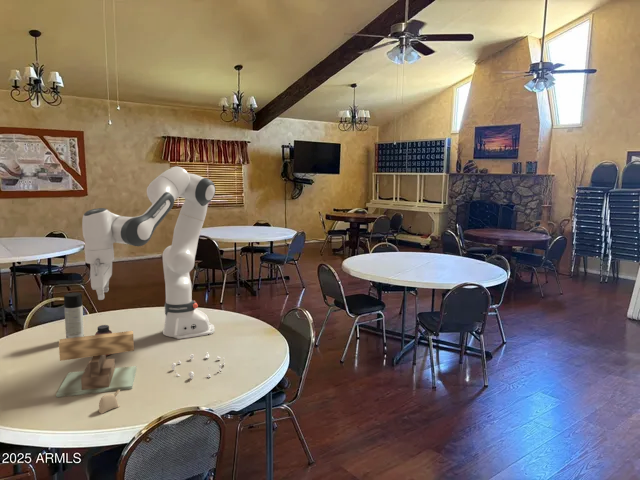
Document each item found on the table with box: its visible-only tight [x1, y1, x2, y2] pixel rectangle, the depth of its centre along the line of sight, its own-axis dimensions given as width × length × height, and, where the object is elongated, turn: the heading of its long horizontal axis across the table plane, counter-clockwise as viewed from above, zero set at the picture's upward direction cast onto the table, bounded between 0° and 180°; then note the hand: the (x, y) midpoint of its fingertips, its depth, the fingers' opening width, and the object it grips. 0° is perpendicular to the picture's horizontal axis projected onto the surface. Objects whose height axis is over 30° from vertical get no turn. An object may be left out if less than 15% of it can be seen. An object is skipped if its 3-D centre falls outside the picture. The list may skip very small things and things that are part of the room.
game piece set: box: [171, 352, 226, 380], centre depth 161 cm, size 19×20×4 cm
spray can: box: [63, 292, 85, 339], centre depth 184 cm, size 7×7×20 cm
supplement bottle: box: [94, 324, 113, 357], centre depth 171 cm, size 6×6×11 cm
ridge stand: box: [55, 355, 137, 398], centre depth 148 cm, size 22×16×10 cm
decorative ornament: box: [98, 390, 121, 415], centre depth 132 cm, size 3×7×4 cm, turn 141°
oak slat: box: [58, 330, 135, 362], centre depth 147 cm, size 22×4×6 cm, turn 116°
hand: (103, 295), depth 152 cm, fingers open, 8 cm apart
